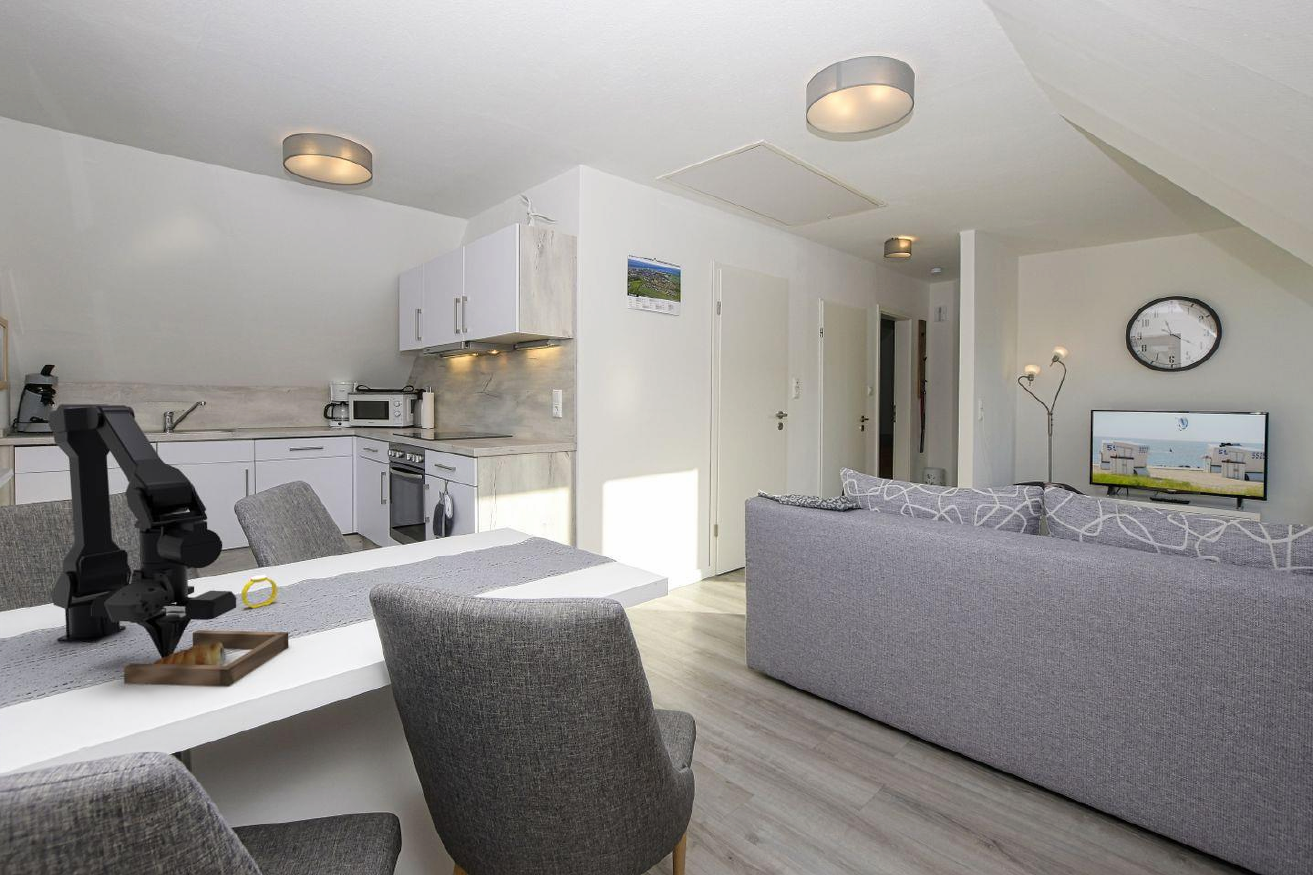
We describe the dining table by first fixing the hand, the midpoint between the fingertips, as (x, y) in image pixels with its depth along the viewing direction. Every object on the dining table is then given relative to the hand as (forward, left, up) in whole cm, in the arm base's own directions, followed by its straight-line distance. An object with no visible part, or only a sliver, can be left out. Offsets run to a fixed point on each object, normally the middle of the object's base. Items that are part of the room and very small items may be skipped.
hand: (166, 657), depth 98 cm
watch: (-3, +27, -1) cm, 27 cm away
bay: (+8, 0, -1) cm, 8 cm away
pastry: (+6, -2, -1) cm, 6 cm away
